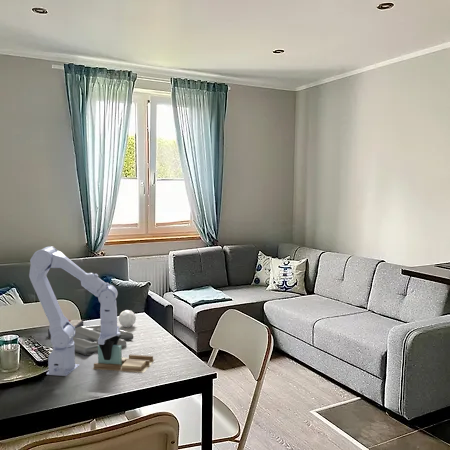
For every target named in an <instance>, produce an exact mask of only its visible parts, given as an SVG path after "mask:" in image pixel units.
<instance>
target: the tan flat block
mask: <svg viewBox="0 0 450 450" xmlns="http://www.w3.org/2000/svg"><path fill="white" fill-rule="evenodd" d="M145 366H146V364H145V365H144V366H143V367H142V368H141V369H135V368H122V370H132V371H141V370H142V369H143V368H144V367H145Z"/></svg>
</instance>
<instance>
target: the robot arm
mask: <svg viewBox="0 0 450 450" xmlns="http://www.w3.org/2000/svg"><path fill="white" fill-rule="evenodd" d="M29 261H30V262H29V263H30V267H29V272H28V273H29V274H28V277H29V280H30V282H31V284H32V287H33V289H34V291H35V294H36V295H37V298H38V301H39V302H40V305H41V307H42V309H43V312H44V313H45V317H46V318H47V320H48V324H49V328H48V329H49V332H50V334H51V337H50V343H51V345H52V349H51V352H50V353H49V355H48V357H47V361H48V362H47V364H48V365H47V366H48V371H47V372H46V375H47V376H61V377H67V376H69V375H70V374H71V373H72V372H73V371H75V369H77V368H78V367H79V366H80V364H79V363H76V352H75V346H74V341H73V337H74V336H75V333H76V330H75V327H74V326H73V325H72V324H71V323H70V322H69V320H70V319H68V318H67V316H65V315H64V312H63V310H62V308H61V306H60V304H59V302H58V298H57V297H56V294H55V292H54V290H53V288H52V285H51V282H50V281H49V279H48V277H47V276H48V273H49V271H50V269H61V270H64V271H65V272H67V273H68V274H70V275H71V276H73V277H74V278H76V279H77V280H79V281H80V286H81V287H83V288H84V289H85V290H87V291H88V292H89V293H91V294H92V295H94V296H95V297H96V298H97V299H98V302H99V303H100V309H99V310H100V311H99V314H100V315H99V316H100V325H101V333H100V336H99V338H98V341H97V342H98V345H99V347H100V348H101V351H102V354H103V357H104V360H110V359H111V352H112V347H113V345H117V344H118V341H119V339H120V334H121V333H120V332H119V331H120V330H121V328H120V326H118V307H117V298H118V295H119V292H118V290H117V288H116V287H115V285H113V284H110V283H109V282H105V281H104V280H102V279H101V278H100V277H99V274H98V273H94V272H86V271H85V270H84V269H83V268H81V267H80V266H79V265H78V264H76V263H75V262H74V261H73V260H72V259H70V258H69V257H68V256H66V255H65V254H64V253H63V252H62V251H60V250H58V249H57V248H55V246H51V245H49V246H47V245H46V246H45V247H43V248H41V249H38V250H36V251H34V253H33V254H32V256H31V257H30V259H29Z"/></svg>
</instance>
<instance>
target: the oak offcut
mask: <svg viewBox="0 0 450 450" xmlns="http://www.w3.org/2000/svg"><path fill="white" fill-rule="evenodd" d="M145 364H146V361H135V360H126V361H125V362H124V364H123V365H122V368H135V369H141V368H142V367H143V366H144V365H145Z"/></svg>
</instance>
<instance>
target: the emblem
mask: <svg viewBox="0 0 450 450" xmlns="http://www.w3.org/2000/svg"><path fill="white" fill-rule="evenodd" d="M75 330H76V333H75V336H74V337H73V341H74V346H75V353H77V354H81V355H82V356H83V355H84V356H92V355H94V354H95V353H98V342H97V341H98V338H99V336H100V333H101V324H99V325H83V327H77V328H75ZM119 332H120V333H121V334H120V339H119V341H118V344H117V345H121V347H122V349H123V348H126V347H127V342H129V341H132V340H133V339H134V334H133V333H132V332H129V331H127V330H122V329H120V331H119Z"/></svg>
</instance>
